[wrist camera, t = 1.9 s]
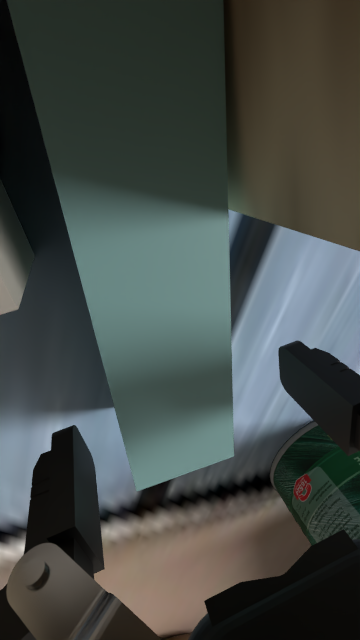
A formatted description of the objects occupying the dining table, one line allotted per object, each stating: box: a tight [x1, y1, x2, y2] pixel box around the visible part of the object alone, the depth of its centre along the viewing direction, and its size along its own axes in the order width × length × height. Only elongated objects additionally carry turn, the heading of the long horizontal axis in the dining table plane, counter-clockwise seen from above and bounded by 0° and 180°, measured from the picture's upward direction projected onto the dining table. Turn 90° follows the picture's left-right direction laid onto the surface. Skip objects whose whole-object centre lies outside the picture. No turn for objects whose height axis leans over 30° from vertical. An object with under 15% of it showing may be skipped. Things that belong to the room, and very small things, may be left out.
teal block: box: [7, 0, 234, 491], centre depth 11 cm, size 15×4×5 cm, turn 7°
